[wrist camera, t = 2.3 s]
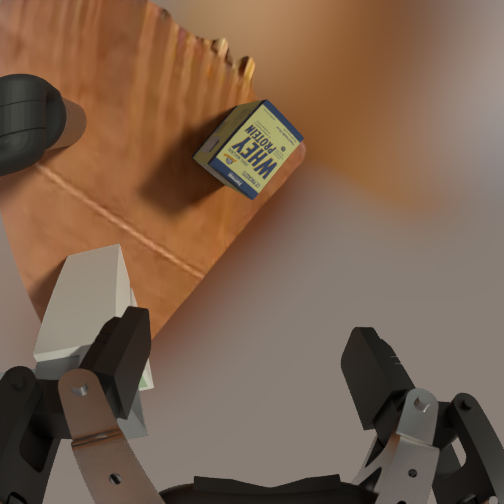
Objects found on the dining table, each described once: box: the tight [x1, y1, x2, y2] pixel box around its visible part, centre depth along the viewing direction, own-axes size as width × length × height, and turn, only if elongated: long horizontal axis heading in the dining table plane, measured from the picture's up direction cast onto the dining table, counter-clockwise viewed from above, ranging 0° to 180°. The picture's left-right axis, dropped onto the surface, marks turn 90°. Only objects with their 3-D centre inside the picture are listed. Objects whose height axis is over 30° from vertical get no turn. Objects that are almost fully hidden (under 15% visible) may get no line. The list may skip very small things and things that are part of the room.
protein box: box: [192, 99, 304, 200], centre depth 52 cm, size 10×16×16 cm
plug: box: [0, 355, 80, 380], centre depth 26 cm, size 19×7×7 cm, turn 94°
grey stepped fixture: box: [33, 243, 154, 439], centre depth 43 cm, size 13×22×41 cm, turn 4°
